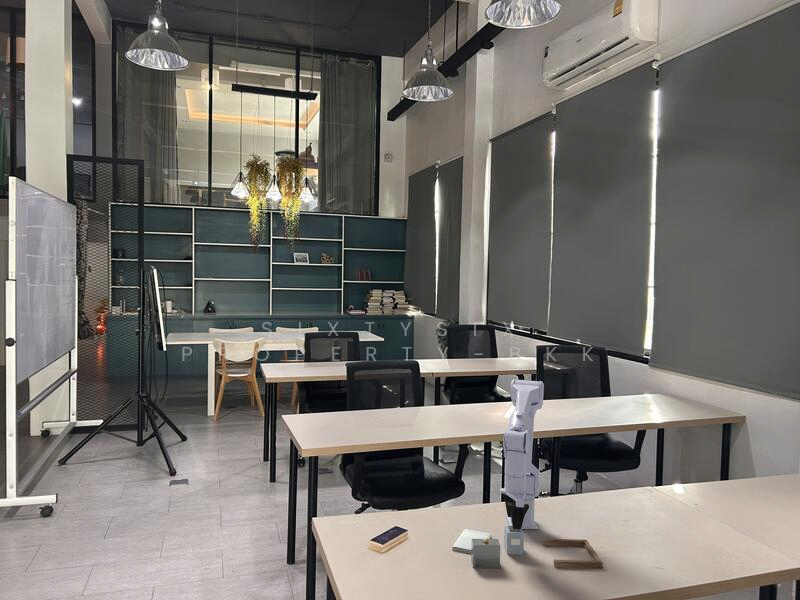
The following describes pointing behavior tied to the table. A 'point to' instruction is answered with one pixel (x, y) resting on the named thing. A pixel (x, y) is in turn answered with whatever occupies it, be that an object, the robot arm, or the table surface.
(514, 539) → the block
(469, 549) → the hard drive
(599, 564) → the bay
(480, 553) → the unit
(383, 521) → the table surface
